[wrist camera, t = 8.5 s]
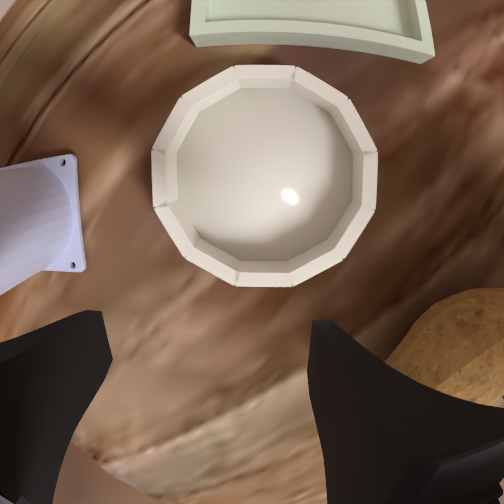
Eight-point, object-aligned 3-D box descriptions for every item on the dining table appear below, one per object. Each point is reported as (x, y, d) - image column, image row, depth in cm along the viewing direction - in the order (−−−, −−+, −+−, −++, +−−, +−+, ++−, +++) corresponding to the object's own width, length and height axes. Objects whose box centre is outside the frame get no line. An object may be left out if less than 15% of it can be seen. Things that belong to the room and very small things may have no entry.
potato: (329, 330, 20) (357, 414, 12) (490, 238, 18) (564, 274, 10) (368, 413, 22) (392, 486, 15) (501, 334, 20) (551, 382, 12)
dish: (171, 269, 19) (159, 284, 17) (166, 82, 16) (152, 72, 14) (356, 272, 19) (367, 286, 16) (362, 84, 15) (376, 74, 13)
